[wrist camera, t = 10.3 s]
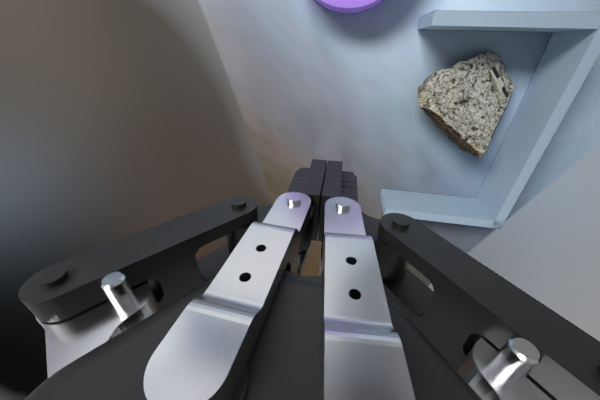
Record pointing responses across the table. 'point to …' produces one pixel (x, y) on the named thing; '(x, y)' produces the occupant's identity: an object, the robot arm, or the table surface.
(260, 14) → the table surface
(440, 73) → the rock sample
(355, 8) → the masking tape
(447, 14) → the box
